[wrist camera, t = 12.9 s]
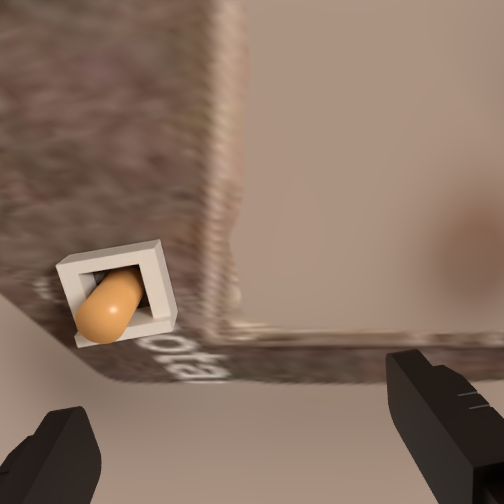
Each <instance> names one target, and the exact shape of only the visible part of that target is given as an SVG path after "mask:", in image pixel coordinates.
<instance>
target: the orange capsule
mask: <svg viewBox="0 0 504 504" xmlns="http://www.w3.org/2000/svg"><path fill="white" fill-rule="evenodd" d="M145 290H146V288H145V285H144V281H143V277H142V274H141V272H139V271H138V270H137V269H135V268H133V267H130V266H123V267H117V268H114V269H113V270H111V271H110V272H109V274H108V275H107V276H106V277H105V278H104V280H103V281H102V282H101V283H100V284H99V285H98V287H97V288H96V289H95V290H94V291H93V292H92V294H91V295H90V296H89V297H88V298H87V300H86V301H85V302H84V303H83V304H82V305H81V307H80V308H79V309H78V311H77V313H76V317H75V322H76V327H77V329H78V331H79V332H80V334H81V335H82V336H83V337H85V338H86V339H87V340H89V341H91V342H94V343H99V344H107V343H111V342H114V341H116V340H117V339H119V338H120V337H121V336H122V334H123V333H124V331H125V329H126V327H127V325H128V323H129V321H130V320H131V318H132V316H133V314H134V312H135V310H136V308H137V306H138V304H139V302H140V300H141V299H142V297H143V295H144V293H145Z"/></svg>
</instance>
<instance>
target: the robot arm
mask: <svg viewBox="0 0 504 504" xmlns="http://www.w3.org/2000/svg"><path fill="white" fill-rule="evenodd" d="M386 376H387V392H388V405H389V410H390V414H391V417H392V420H393V422H394V425H395V427H396V429H397V431H398V432H399V434H400V436H401V438H402V439H403V441H404V443H405V445H406V447H407V448H408V450H409V452H410V454H411V455H412V457H413V459H414V461H415V463H416V464H417V466H418V468H419V470H420V471H421V473H422V475H423V477H424V478H425V480H426V482H427V484H428V486H429V487H430V489H431V491H432V493H433V494H434V496H435V498H436V500H437V502H438V503H439V504H504V418H503V417H502V416H501V415H500V414H499V413H498V412H497V411H496V410H495V409H494V408H493V407H490V405H489V403H488V402H487V401H486V400H485V399H484V398H483V397H482V395H480V394H478V393H477V390H476V389H475V388H474V387H473V386H472V385H471V384H470V383H469V382H468V381H467V380H466V379H465V378H464V377H463V376H462V375H460V374H459V373H457V372H455V371H453V370H451V369H450V368H448V367H446V366H444V365H438V366H432V365H431V364H430V363H429V361H428V360H427V359H426V358H425V357H424V356H423V355H422V353H421V352H420V351H419V350H417V349H410V350H405V351H399V352H393V353H388V354H387V355H386ZM100 473H101V453H100V450H99V447H98V444H97V442H96V439H95V436H94V433H93V430H92V428H91V425H90V422H89V419H88V417H87V414H86V412H85V410H84V408H83V407H81V406H78V407H72V408H66V409H60V410H55V411H50V412H49V413H48V414H47V415H46V416H45V417H44V419H43V421H42V422H41V424H40V425H39V427H38V428H37V430H36V431H35V433H34V434H33V435H31V436H28V437H27V438H26V439H25V440H24V441H22V442H21V443H20V444H19V445H18V446H17V447H16V448H15V449H14V450H13V451H12V452H11V453H9V455H8V456H7V457H6V459H5V460H4V462H3V463H2V465H1V466H0V504H90V502H91V499H92V497H93V494H94V491H95V488H96V486H97V483H98V481H99V477H100Z"/></svg>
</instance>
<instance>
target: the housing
mask: <svg viewBox="0 0 504 504" xmlns="http://www.w3.org/2000/svg"><path fill="white" fill-rule="evenodd" d="M135 264H139V266H140V270H141V273H142V277H143V281H144V285H145V288H146V292H147V296H148V299H149V303H150V306H148V307H142V308H137V309H136V310H135V312H134V314H133V316H132V318H131V320H130V321H129V323H128V325H127V327H126V329H125V331H124V333H123V334H122V336H121V337H120V338H119V339H117V340H116V341H119V340H125V339H131V338H137V337H142V336H148V335H154V334H160V333H165V332H171V331H173V328H174V324H175V320H176V317H177V313H178V311H177V307H176V303H175V299H174V295H173V291H172V287H171V282H170V278H169V274H168V270H167V266H166V262H165V258H164V254H163V250H162V246H161V242H160V239H158V240H153V241H147V242H141V243H135V244H130V245H124V246H118V247H112V248H106V249H101V250H95V251H89V252H83V253H77V254H72V255H68V256H67V257H66V258H64V259H63V260H62V261H60V262H59V263H58V264H57V265H56V268H57V271H58V274H59V277H60V280H61V283H62V286H63V288H64V291H65V294H66V297H67V300H68V303H69V306H70V309H71V312H72V315H73V318H74V320H75V317H76V313H77V311H78V309H79V308H80V307H81V305H82V304H83V303H84V302H85V301H86V300H87V298H88V297H89V296H90V295H91V294H92V292H93V291H94V290H95V289H96V288H97V286H96V282H95V279H94V276H93V273H92V272H94V271H100V270H106V269H112V268H117V267H123V266H129V265H135ZM75 323H76V322H75ZM74 338H75V340H76V343H77V346H78V348H79V347H85V346H91V345H97V344H99V343H94V342H91V341H89V340H87V339H86V338H85V337H83V336H82V335H81V334H80V332H79V331H78V332H77V334H76V335H75V336H74Z"/></svg>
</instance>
